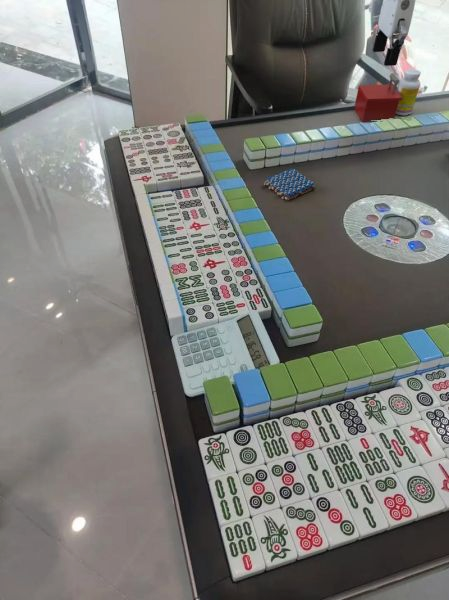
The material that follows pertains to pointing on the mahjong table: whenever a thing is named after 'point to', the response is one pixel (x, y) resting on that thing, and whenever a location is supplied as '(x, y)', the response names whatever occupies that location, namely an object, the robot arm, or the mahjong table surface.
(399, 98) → the lid
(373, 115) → the box
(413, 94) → the supplement bottle
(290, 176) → the woven mat
